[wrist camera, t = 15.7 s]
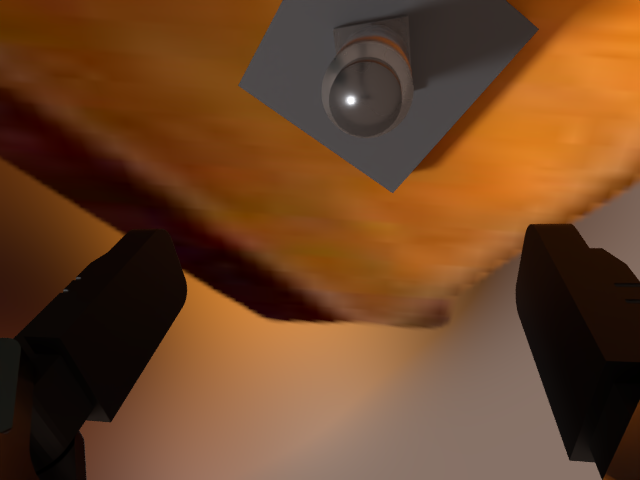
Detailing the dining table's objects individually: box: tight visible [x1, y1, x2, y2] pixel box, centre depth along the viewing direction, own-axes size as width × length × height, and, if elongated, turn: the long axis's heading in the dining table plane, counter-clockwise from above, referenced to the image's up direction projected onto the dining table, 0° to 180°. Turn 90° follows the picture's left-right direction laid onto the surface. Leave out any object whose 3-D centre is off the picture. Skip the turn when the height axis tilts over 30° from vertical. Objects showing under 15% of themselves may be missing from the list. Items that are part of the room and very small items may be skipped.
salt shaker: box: [321, 15, 414, 138], centre depth 25 cm, size 5×5×11 cm
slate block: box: [238, 0, 539, 193], centre depth 32 cm, size 15×15×4 cm
